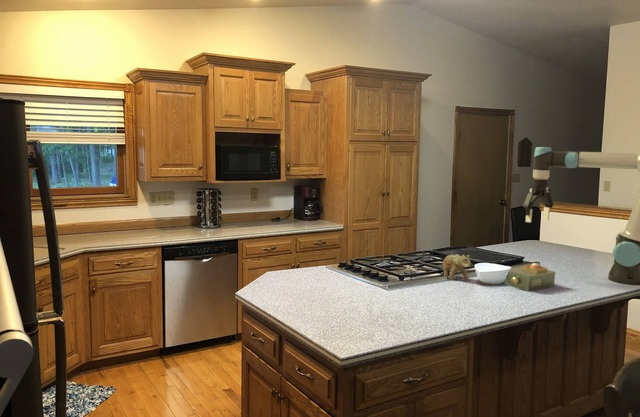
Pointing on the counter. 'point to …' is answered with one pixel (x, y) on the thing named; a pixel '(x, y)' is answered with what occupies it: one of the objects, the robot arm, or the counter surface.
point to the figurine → (456, 265)
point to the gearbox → (530, 278)
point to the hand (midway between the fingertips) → (537, 221)
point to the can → (535, 266)
